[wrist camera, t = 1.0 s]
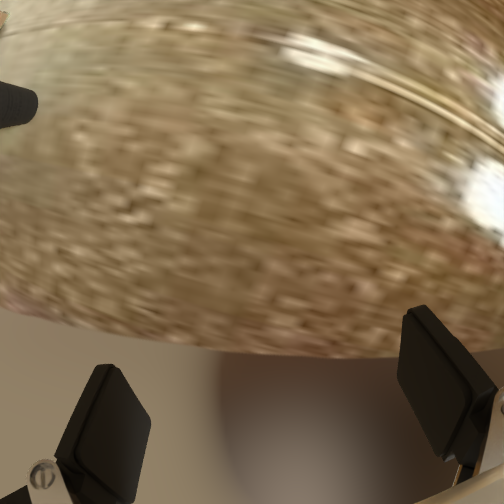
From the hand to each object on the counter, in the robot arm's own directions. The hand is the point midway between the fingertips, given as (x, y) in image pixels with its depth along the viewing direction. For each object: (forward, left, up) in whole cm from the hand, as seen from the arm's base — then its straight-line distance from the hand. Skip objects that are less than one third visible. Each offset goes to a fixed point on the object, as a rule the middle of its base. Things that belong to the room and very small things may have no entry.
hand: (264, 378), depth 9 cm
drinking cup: (+7, -32, -29) cm, 44 cm away
